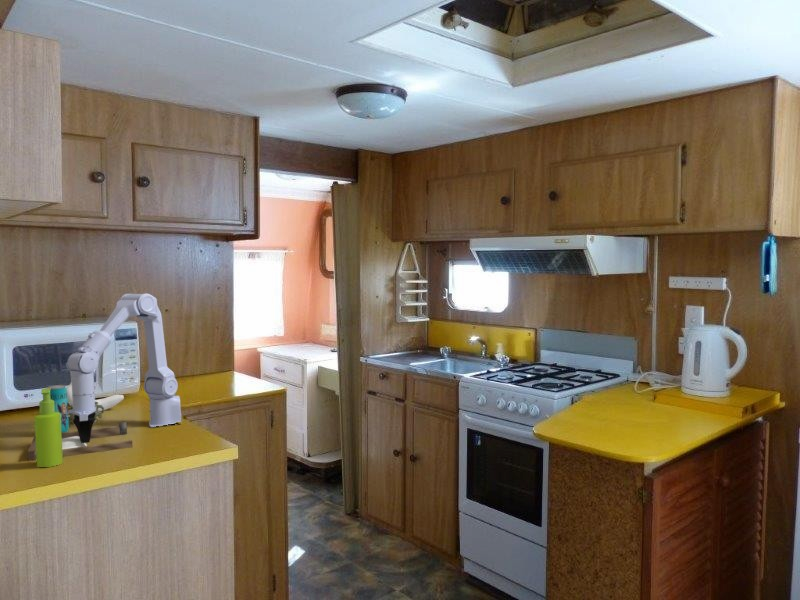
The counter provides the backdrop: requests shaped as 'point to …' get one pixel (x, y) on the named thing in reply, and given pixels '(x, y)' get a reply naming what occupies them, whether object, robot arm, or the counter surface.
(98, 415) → the vessel
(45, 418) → the soap dispenser
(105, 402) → the banana
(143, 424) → the counter surface
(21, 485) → the counter surface
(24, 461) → the counter surface
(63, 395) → the beverage can
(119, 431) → the hook rack
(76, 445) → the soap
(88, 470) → the counter surface
